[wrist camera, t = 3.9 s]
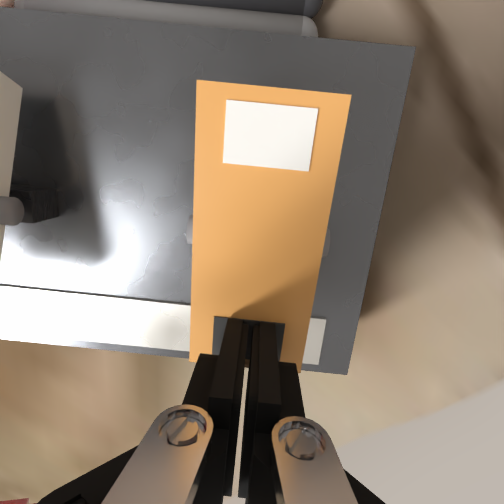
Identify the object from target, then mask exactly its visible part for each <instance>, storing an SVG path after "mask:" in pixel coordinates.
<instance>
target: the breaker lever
mask: <svg viewBox="0 0 504 504" xmlns="http://www.w3.org/2000/svg"><path fill="white" fill-rule="evenodd" d="M351 96H352V95H349V94H338V93H328V92H318V91H308V90H298V89H287V88H277V87H267V86H257V85H246V84H236V83H226V82H216V81H205V80H197V84H196V123H195V161H194V199H193V215H190V216H189V219H188V223H187V230H186V239H187V243H188V244H192V276H191V315H190V353H189V362H197V360H198V357H199V354H200V353H204V354H213V355H219V353H220V348H221V344H222V340H223V336H224V332H225V328H226V323H227V319H228V318H231V319H241V320H243V324H249V326H248V336H247V346H246V357H245V367H246V368H249V362H250V353H251V343H252V334H253V325H258V326H259V325H260V322H269V323H275V325H276V338H277V352H278V361H280V362H289V363H296V366H297V371H298V373H300V372H301V367H302V361H303V356H304V351H305V345H306V340H307V334H308V329H309V323H310V318H311V313H312V307H313V302H314V296H315V291H316V285H317V280H318V275H319V269H320V264H321V258H322V257H327V255H328V252H329V247H330V230H329V229H327V226H328V220H329V215H330V209H331V204H332V199H333V193H334V188H335V182H336V177H337V171H338V166H339V161H340V155H341V150H342V144H343V139H344V134H345V128H346V123H347V117H348V112H349V106H350V101H351Z"/></svg>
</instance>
